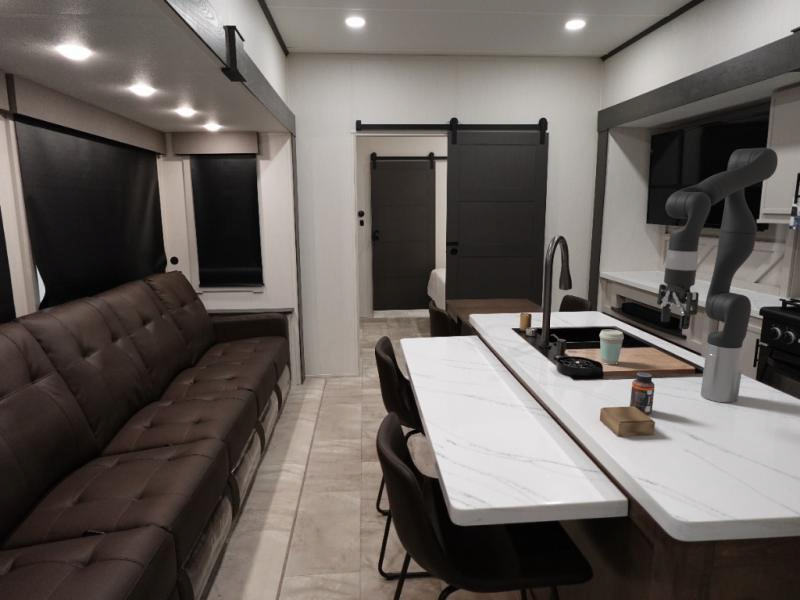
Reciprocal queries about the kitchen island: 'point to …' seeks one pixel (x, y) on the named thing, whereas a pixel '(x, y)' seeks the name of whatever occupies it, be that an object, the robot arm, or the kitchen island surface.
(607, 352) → the coffee cup
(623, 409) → the plinth
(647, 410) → the supplement bottle
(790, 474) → the kitchen island surface
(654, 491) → the kitchen island surface
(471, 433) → the kitchen island surface
